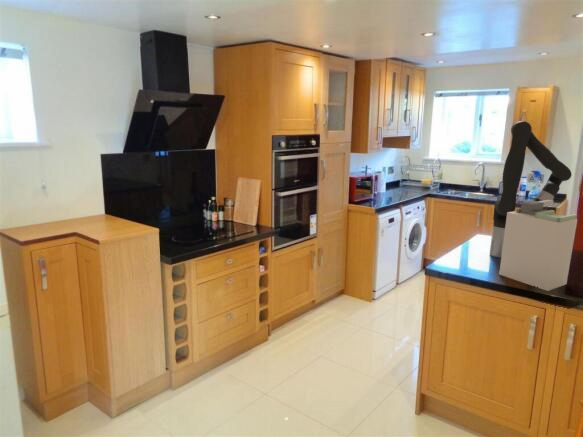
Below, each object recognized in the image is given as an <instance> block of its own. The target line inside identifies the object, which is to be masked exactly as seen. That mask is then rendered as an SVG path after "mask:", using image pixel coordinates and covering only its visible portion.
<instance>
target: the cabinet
mask: <svg viewBox="0 0 583 437" xmlns="http://www.w3.org/2000/svg"><path fill="white" fill-rule="evenodd" d="M520 211H521V208H518V209H516V210H515V211H513V212H507V218H506V226H505V233H504V241H503V249H502V256H501V258H500V263H499V264H500V265H499V274H498V275H500V276H503V277H504V278H508V279H511V280H514V281H516V282H517V281H518V282H519V283H523V284H527V285H529V286H532V287H534V286H535V288H537V287H538V288H537V289H539V290H540V289H541V290H543V291H547V292H549V291H551V290H555V289H557V288H560V287H562V286H565V285H567V283H568V276H569V271H570V265H571V259H572V254H573V253H572V252H573V248H574V242H575V235H576V232H577V231H576V230H577V225H578V218H577V217H578V214H576V213H574V214H569V215H568V214H567V215H563V214H556V213H555V210H553V209H550V210H547V209H546V210H540V211H534V212H530V215H529V214H524V213H520Z"/></svg>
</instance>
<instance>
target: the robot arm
mask: <svg viewBox="0 0 583 437" xmlns="http://www.w3.org/2000/svg"><path fill="white" fill-rule="evenodd" d="M532 130H533V128H532V125H531V124H530V122H528V121H525V120H519V121H516V122H515V123H514V124H512V126H511V128H510V133H511V136H512V137H511V142H510V143H511V145H510V149H509V151H508V154H507V156H506V159H505V161H504V166H503V171H502V193H501V196H500V198H498V199H497V200H496V201H495V203H494V208H493V218H492V219H493V220H492V221H493V225H492V235H491V239H490V240H491V241H490V248H489V256H491V257H494V258H495V257H496V258H500V259H501V256H502V249H503V241H504V233H505V226H506V218H507V212H513V211H516V206H517V196H518V190H519V186H520V183H521V178H522V174H523V170H524V165H525V159H526V149H528V150H529V151H530V152H531V153H532V154H533V156H534V157H535V158H536V159H537V161H538V162H539V163H541V165H542V166H543V167H544V168H546V169H547V170H549V171H550V172H551V174H550V175H549V178H548V180H547V181H546V184H545V185H544V186H543V187H542V189H541V190H540V191H539V193H538V194H537V195H536V196H535V198H534V200H533V201H537V202H538V201H544V200H553V201H554V198H555V196H556V195H557V194H559V191H560V188H561V186H560V185H561V184H562V182H567V181H569V180H570V179H571V177H572V171H571V169H570V168H569V167H568V166H567V165H565V163H563V162H562V161H560V160H559V159H558V157H557V156H555V154H554V153H553V152H552V151H551V150H550V149H549V148H548V147H547V146H546V145H544V144H543V142H541V141H540V140H539V139H538V137H537V136H536V135H535V134H534V133H533V131H532ZM548 208H549V206H547V207H543V210H547V209H548Z"/></svg>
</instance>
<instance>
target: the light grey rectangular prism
mask: <svg viewBox="0 0 583 437" xmlns="http://www.w3.org/2000/svg"><path fill="white" fill-rule="evenodd" d="M520 205H521V206H520V209H521V211H520V213H524V214H529V215H530V212H534V211H540V210H543V207H547V206H548V207H551V206H554V199H553V200H544V201H538V202H537V201H534V200H531V201H525V202H521V204H520Z"/></svg>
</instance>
